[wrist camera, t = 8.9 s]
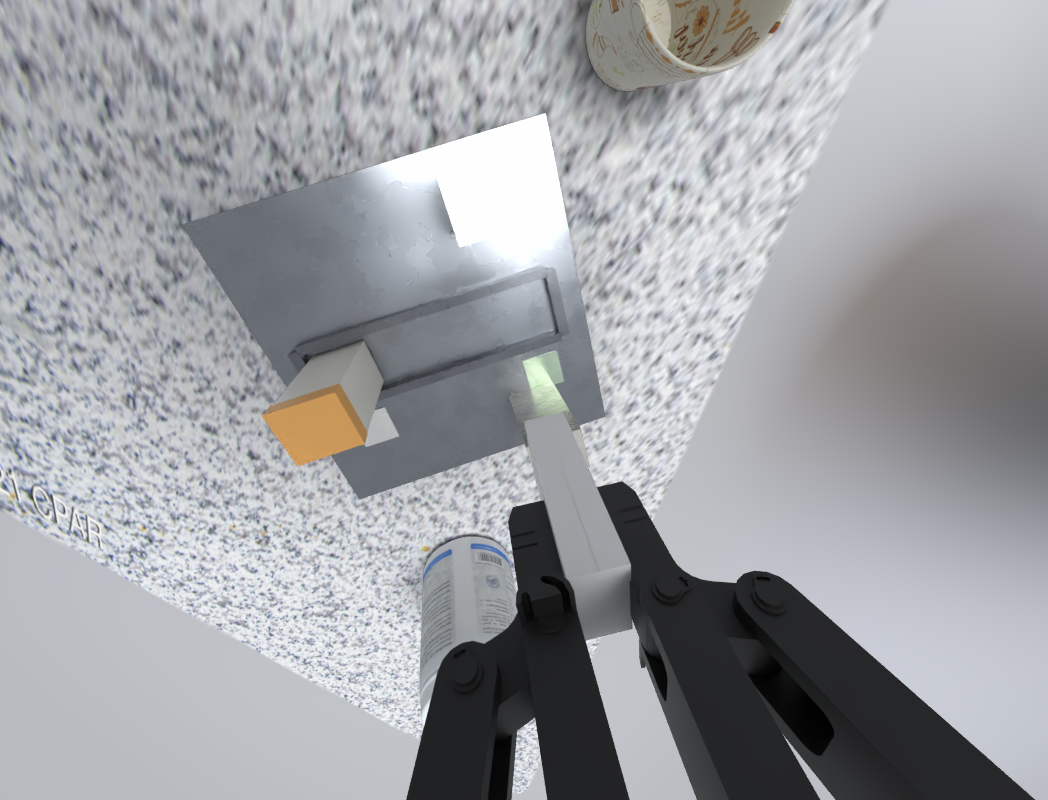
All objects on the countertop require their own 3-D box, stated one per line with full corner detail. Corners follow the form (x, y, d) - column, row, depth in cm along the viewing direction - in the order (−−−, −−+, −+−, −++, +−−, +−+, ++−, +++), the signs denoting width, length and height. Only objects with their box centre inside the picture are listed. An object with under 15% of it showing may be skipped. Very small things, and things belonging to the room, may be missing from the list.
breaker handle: (335, 396, 31) (297, 466, 23) (311, 356, 29) (261, 416, 21) (384, 380, 31) (364, 443, 23) (364, 339, 30) (334, 392, 21)
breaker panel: (362, 488, 37) (339, 571, 29) (195, 223, 26) (77, 234, 18) (599, 409, 38) (643, 467, 30) (540, 117, 27) (584, 80, 18)
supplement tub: (438, 601, 46) (436, 755, 34) (411, 546, 42) (398, 701, 29) (517, 578, 47) (545, 720, 34) (500, 521, 43) (525, 662, 30)
